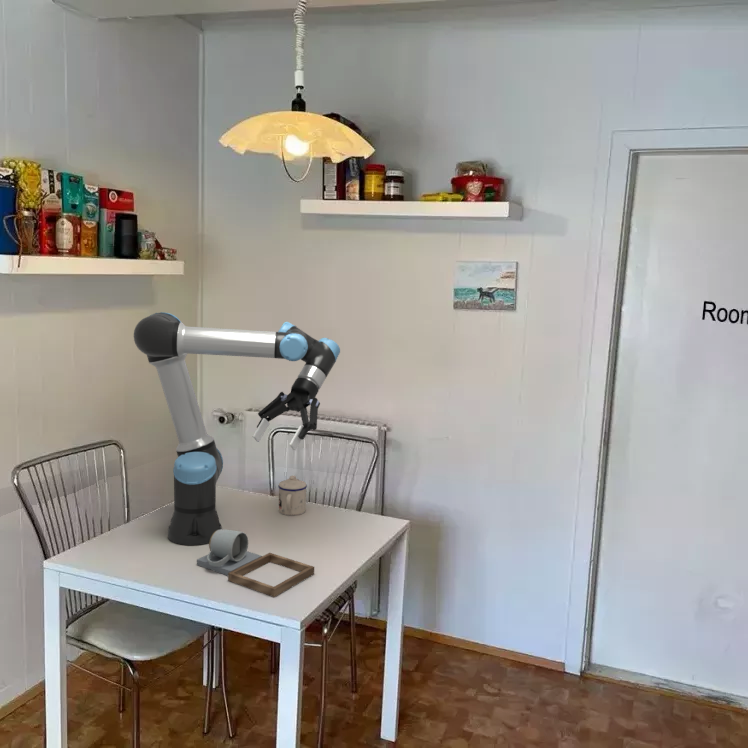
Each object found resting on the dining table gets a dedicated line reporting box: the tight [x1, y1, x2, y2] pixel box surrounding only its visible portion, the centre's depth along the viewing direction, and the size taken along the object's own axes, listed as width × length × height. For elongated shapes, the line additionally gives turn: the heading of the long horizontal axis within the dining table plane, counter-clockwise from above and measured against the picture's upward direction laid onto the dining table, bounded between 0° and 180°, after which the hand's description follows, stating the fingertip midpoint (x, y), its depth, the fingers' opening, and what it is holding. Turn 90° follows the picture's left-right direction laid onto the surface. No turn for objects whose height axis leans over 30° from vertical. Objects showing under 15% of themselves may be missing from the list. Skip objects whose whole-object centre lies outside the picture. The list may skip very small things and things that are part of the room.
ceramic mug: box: [207, 528, 249, 567], centre depth 191 cm, size 11×8×8 cm
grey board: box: [196, 550, 263, 577], centre depth 193 cm, size 12×12×2 cm
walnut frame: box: [227, 552, 315, 598], centre depth 185 cm, size 15×16×2 cm
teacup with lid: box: [278, 475, 308, 516], centre depth 231 cm, size 12×9×12 cm
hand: (273, 443), depth 205 cm, fingers open, 13 cm apart
